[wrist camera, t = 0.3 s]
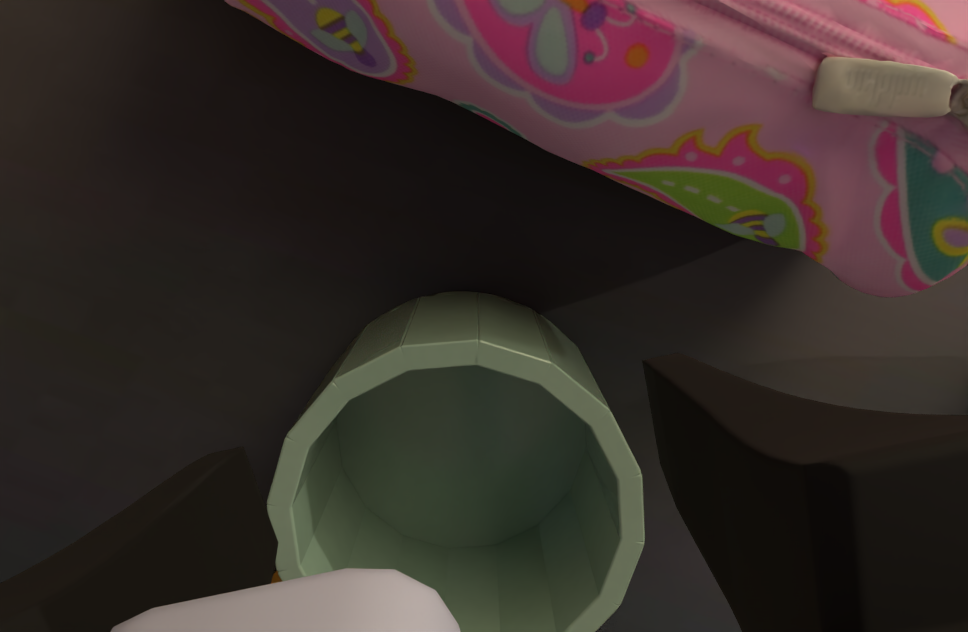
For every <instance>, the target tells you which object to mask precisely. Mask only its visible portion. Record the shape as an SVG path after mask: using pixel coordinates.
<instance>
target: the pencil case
mask: <svg viewBox="0 0 968 632" xmlns="http://www.w3.org/2000/svg"><path fill="white" fill-rule="evenodd" d="M224 1H225V2H227V3H228V4H229V5H230V6H233V7H235V8H237V9H240V10H242V11H244V12H246V13H248V14H250V15H251V16H253V17H255V18H256V19H258V20H260V21H262V22H263V23H265V24H267V25H268V26H270V27H272V28H273V29H275V30H277V31H279V32H280V33H282V34H284V35H286V36H287V37H289V38H291V39H293V40H294V41H296V42H298V43H300V44H301V45H303V46H305V47H306V48H308V49H310V50H311V51H313V52H315V53H317V54H319V55H321V56H322V57H324V58H326V59H328V60H330V61H332V62H335V63H337V64H339V65H342V66H343V67H345V68H346V69H348V70H351V71H354V72H357V73H359V74H362V75H365V76H368V77H372V78H375V79H379V80H383V81H386V82H390V83H393V84H397V85H400V86H404V87H407V88H411V89H415V90H419V91H422V92H426V93H430V94H433V95H437V96H439V97H441V98H444V99H446V100H449V101H451V102H453V103H455V104H457V105H459V106H461V107H463V108H465V109H467V110H469V111H471V112H473V113H475V114H477V115H479V116H481V117H483V118H485V119H487V120H489V121H491V122H493V123H495V124H497V125H499V126H501V127H503V128H505V129H507V130H509V131H511V132H513V133H514V134H516V135H518V136H520V137H522V138H524V139H526V140H528V141H530V142H531V143H533V144H535V145H537V146H539V147H540V148H542V149H544V150H546V151H548V152H550V153H553V154H555V155H557V156H559V157H562V158H564V159H566V160H569V161H571V162H573V163H576V164H578V165H581V166H584V167H586V168H589V169H591V170H594V171H596V172H598V173H600V174H602V175H604V176H606V177H608V178H610V179H612V180H614V181H616V182H618V183H620V184H623V185H625V186H627V187H629V188H632V189H634V190H636V191H638V192H641V193H643V194H645V195H648V196H650V197H652V198H654V199H656V200H658V201H661V202H663V203H665V204H667V205H669V206H672V207H674V208H677V209H679V210H681V211H684V212H686V213H688V214H691V215H693V216H695V217H697V218H699V219H701V220H703V221H705V222H707V223H709V224H712V225H714V226H716V227H718V228H720V229H722V230H724V231H727V232H729V233H731V234H733V235H736V236H740V237H743V238H747V239H751V240H754V241H757V242H760V243H763V244H767V245H772V246H776V247H782V248H789V249H794V250H798V251H801V252H803V253H804V254H806V255H807V256H809V257H810V258H811V259H813V260H815V261H816V262H818V263H820V264H821V265H823V266H825V267H826V268H828V269H829V270H830V271H831V272H832V273H833V274H834V275H835V276H836V277H837V278H838V279H840V280H841V281H842V282H844V283H845V284H846V285H848V286H849V287H851V288H853V289H856V290H858V291H861V292H863V293H866V294H870V295H875V296H879V297H899V296H906V295H910V294H914V293H916V292H919V291H921V290H924V289H926V288H929V287H931V286H933V285H935V284H937V283H939V282H941V281H943V280H945V279H947V278H949V277H951V276H952V275H953V274H955V273H956V272H958V271H959V270H961V269H962V268H964V267H965V266H966V265H967V264H968V0H224Z"/></svg>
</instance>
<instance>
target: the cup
mask: <svg viewBox="0 0 968 632" xmlns="http://www.w3.org/2000/svg"><path fill="white" fill-rule="evenodd" d="M267 512H268V515H269V518H270V521H271V524H272V526H273V529H274V532H275V534H276V537H277V540H278V549H277V555H276V561H275V565H276V570H277V571H278V575H279V577H280V578H281V580H282V581H287V580H292V579H297V578H302V577H306V576H311V575H316V574H321V573H326V572H331V571H336V570H341V569H345V568H354V569H395V570H397V571H399V572H401V573H403V574H405V575H407V576H409V577H411V578H413V579H415V580H417V581H418V582H420V583H422V584H424V585H426V586H428V587H430V588H432V589H434V590H436V591H437V593H438V594H439V596H440V597H441V599H442V600H443V602H444V603H445V605H446V606H447V608H448V609H449V611H450V612H451V614H452V615H453V617H454V618H455V620H456V622H457V623H458V625H459V628H460V631H461V632H595V631H596V630H597V629H598V628H599V627H600V626H601V625H602V624H603V623H604V622H605V621H606V620H607V619H608V618H609V617H610V616H611V615H612V614H613V613H614V612H615V611H616V610H617V609H618V608H619V605H621V603H622V600H623V598H624V595H625V593H626V590H627V588H628V585H629V583H630V580H631V577H632V575H633V572H634V570H635V567H636V565H637V562H638V560H639V557H640V555H641V552H642V550H643V547H644V545H645V543H644V541H645V525H644V502H643V479H642V474H641V470H640V468H639V466H638V464H637V462H636V460H635V458H634V456H633V454H632V452H631V450H630V448H629V446H628V444H627V442H626V440H625V438H624V436H623V434H622V432H621V430H620V428H619V426H618V424H617V422H616V420H615V418H614V416H613V414H612V412H611V410H610V408H609V406H608V404H607V402H606V400H605V399H604V397H603V395H602V393H601V391H600V389H599V387H598V385H597V383H596V381H595V379H594V377H593V375H592V373H591V371H590V369H589V368H588V366H587V364H586V362H585V360H584V358H583V356H582V354H581V352H580V350H579V348H577V346H576V345H575V344H574V343H573V342H572V341H571V340H569V339H568V337H567V336H566V335H565V334H564V333H563V332H562V331H560V330H559V329H558V328H557V327H556V326H555V325H554V324H553V323H551V322H550V321H549V320H547V319H546V318H545V317H543V316H542V315H541V314H539V313H537V312H536V311H534V310H532V309H530V308H528V307H526V306H524V305H522V304H520V303H517V302H515V301H512V300H510V299H507V298H504V297H500V296H496V295H491V294H487V293H479V292H470V291H460V292H444V293H437V294H431V295H427V296H424V297H420V298H417V299H413V300H411V301H408V302H406V303H404V304H401V305H399V306H397V307H395V308H393V309H391V310H390V311H388V312H386V313H385V314H383V315H381V316H380V317H378V318H377V319H376V320H374V321H372V322H370V323H369V324H368V325H366V326H365V328H364V329H363V330H362V331H361V332H360V334H359V335H358V336H357V337H356V338H355V339H354V340H353V341H352V342H351V344H350V345H349V347H348V348H347V349H346V350H345V352H344V353H343V354H342V355H341V356H340V358H339V359H338V360H337V361H336V362H335V364H334V365H333V366H332V368H331V369H330V371H329V372H328V374H327V375H326V377H325V378H324V380H323V381H322V383H321V384H320V386H319V387H318V389H317V390H316V391H315V393H314V394H313V396H312V397H311V399H310V400H309V402H308V403H307V405H306V406H305V408H304V409H303V411H302V412H301V414H300V415H299V417H298V418H297V420H296V421H295V423H294V424H293V426H292V427H291V429H290V430H289V432H288V433H287V435H286V437H285V438H284V442H283V445H282V449H281V453H280V456H279V460H278V463H277V467H276V470H275V474H274V477H273V481H272V484H271V488H270V491H269V495H268V498H267Z"/></svg>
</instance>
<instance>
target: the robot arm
mask: <svg viewBox="0 0 968 632" xmlns="http://www.w3.org/2000/svg"><path fill="white" fill-rule="evenodd" d="M642 362H643V368H644V374H645V379H646V385H647V391H648V396H649V402H650V408H651V414H652V419H653V425H654V431H655V436H656V442H657V448H658V454H659V459H660V464H661V467H662V470H663V472H664V475H665V478H666V481H667V483H668V486H669V489H670V491H671V494H672V497H673V499H674V502H675V504H676V507H677V509H678V511H679V513H680V515H681V517H682V519H683V520H684V522H685V524H686V526H687V528H688V530H689V531H690V533H691V535H692V537H693V539H694V541H695V543H696V544H697V546H698V548H699V550H700V552H701V553H702V555H703V557H704V559H705V561H706V563H707V564H708V566H709V568H710V570H711V572H712V574H713V575H714V577H715V579H716V581H717V583H718V584H719V586H720V588H721V590H722V592H723V594H724V595H725V597H726V599H727V601H728V603H729V605H730V607H731V609H732V611H733V613H734V615H735V617H736V619H737V621H738V623H739V625H740V628H741V630H742V632H968V415H925V414H905V413H890V412H882V411H873V410H864V409H856V408H849V407H843V406H837V405H832V404H827V403H823V402H818V401H813V400H809V399H804V398H800V397H796V396H793V395H789V394H785V393H782V392H779V391H776V390H773V389H770V388H767V387H764V386H760V385H758V384H755V383H752V382H749V381H747V380H744V379H741V378H739V377H736V376H734V375H731V374H729V373H726V372H724V371H722V370H719V369H717V368H714V367H712V366H710V365H707V364H705V363H703V362H700V361H698V360H696V359H693V358H691V357H688V356H686V355H683V354H680V353H674V354H670V355H665V356H661V357H656V358H651V359H647V360H642ZM277 549H278V540H277V537H276V534H275V532H274V529H273V526H272V524H271V521H270V518H269V515H268V513H267V510H266V507H265V504H264V502H263V499H262V496H261V494H260V491H259V488H258V485H257V483H256V480H255V477H254V475H253V472H252V469H251V466H250V464H249V461H248V458H247V455H246V453H245V450H244V447H239V448H234V449H230V450H225V451H220V452H216V453H211V454H209V455H207V456H204V457H202V458H200V459H198V460H197V461H195V462H193V463H192V464H190V465H188V466H187V467H185V468H184V469H182V470H181V471H179V472H178V473H176V474H175V475H173V476H172V477H170V478H169V479H167V480H166V481H164V482H163V483H161V484H160V485H159V486H157V487H156V488H154V489H153V490H151V491H150V492H149V493H147V494H146V495H144V496H143V497H141V498H140V499H139V500H137V501H136V502H134V503H133V504H131V505H130V506H129V507H127V508H126V509H124V510H123V511H121V512H120V513H118V514H117V515H115V516H114V517H112V518H111V519H109V520H108V521H106V522H105V523H103V524H102V525H100V526H99V527H97V528H95V529H94V530H92V531H91V532H89V533H88V534H86V535H85V536H83V537H82V538H80V539H79V540H77V541H76V542H74V543H72V544H71V545H69V546H67V547H66V548H64V549H63V550H61V551H59V552H57V553H56V554H54V555H52V556H51V557H49V558H47V559H45V560H43V561H42V562H40V563H38V564H36V565H34V566H33V567H31V568H29V569H27V570H25V571H24V572H22V573H20V574H18V575H16V576H14V577H12V578H10V579H8V580H6V581H4V582H2V583H0V632H461V631H460V628H459V625H458V623H457V622H456V620H455V618H454V617H453V615H452V614H451V612H450V611H449V609H448V608H447V606H446V605H445V603H444V602H443V600H442V599H441V597H440V596H439V594H438V593H437V591H436V590H434V589H432V588H430V587H428V586H426V585H424V584H422V583H420V582H418V581H417V580H415V579H413V578H411V577H409V576H407V575H405V574H403V573H401V572H399V571H397V570H395V569H354V568H345V569H341V570H336V571H331V572H326V573H321V574H316V575H311V576H306V577H302V578H297V579H292V580H287V581H282V582H277V583H272V584H271V582H272V577H273V572H274V567H275V561H276V555H277Z"/></svg>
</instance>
